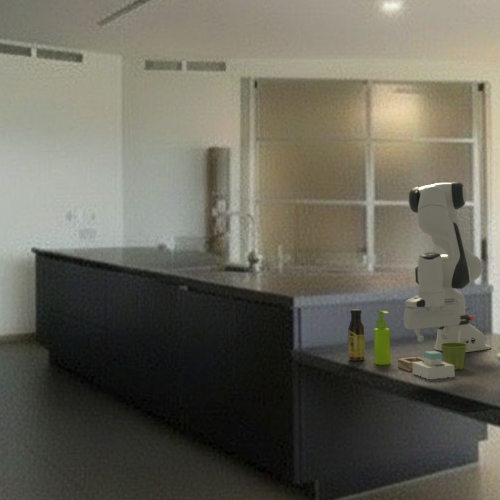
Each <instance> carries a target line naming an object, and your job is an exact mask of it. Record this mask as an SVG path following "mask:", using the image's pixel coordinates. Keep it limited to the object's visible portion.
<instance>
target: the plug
mask: <svg viewBox="0 0 500 500" xmlns="http://www.w3.org/2000/svg"><path fill="white" fill-rule="evenodd" d="M442 355H443V352H441V351H438V350H431V351H430V350H429V351H423V359H424V364H425V365H428V366H435V365H438V364H442V361H443V356H442Z"/></svg>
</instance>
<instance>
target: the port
mask: <svg viewBox="0 0 500 500" xmlns="http://www.w3.org/2000/svg"><path fill="white" fill-rule="evenodd" d="M412 367H413V371H412V375H416V376H417V375H418V377H420V376H421V378H423V379H425V378H426V380H428V379H430V380H437V379H438V378H439V379H446V378H447V377H449V378H455V376H456V375H455V371H456V370H454V365H452V364H449V363H446V362H445V361H444V360H442V364H438V365H435V366H428V365H425V364H424V360H422V361H421V362H412ZM447 379H448V378H447Z"/></svg>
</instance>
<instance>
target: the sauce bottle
mask: <svg viewBox="0 0 500 500" xmlns="http://www.w3.org/2000/svg"><path fill="white" fill-rule="evenodd" d="M361 315H362V309H360V308H352V309H350V323H349V325H348V329H347V333H348V334H347V337H348V338H347V341H348V342H347V343H348V344H347V345H348V360H349V361H353V362H360V361H361V360H362V361H364V360H365V356H366V352H365V351H366V350H365V326H364V324H363V323H362V318H361V317H362V316H361Z"/></svg>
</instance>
